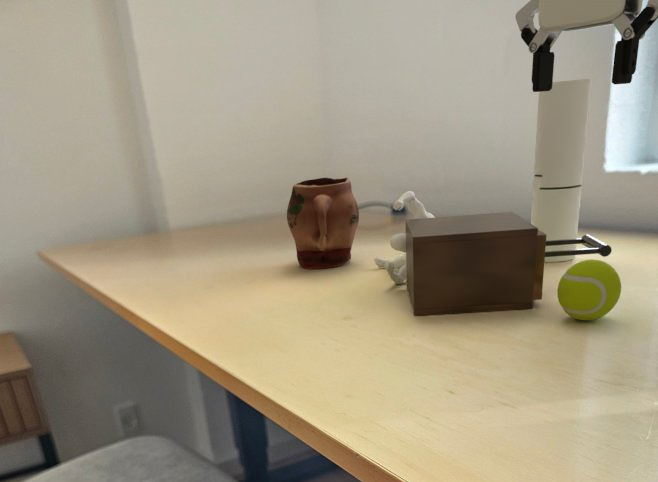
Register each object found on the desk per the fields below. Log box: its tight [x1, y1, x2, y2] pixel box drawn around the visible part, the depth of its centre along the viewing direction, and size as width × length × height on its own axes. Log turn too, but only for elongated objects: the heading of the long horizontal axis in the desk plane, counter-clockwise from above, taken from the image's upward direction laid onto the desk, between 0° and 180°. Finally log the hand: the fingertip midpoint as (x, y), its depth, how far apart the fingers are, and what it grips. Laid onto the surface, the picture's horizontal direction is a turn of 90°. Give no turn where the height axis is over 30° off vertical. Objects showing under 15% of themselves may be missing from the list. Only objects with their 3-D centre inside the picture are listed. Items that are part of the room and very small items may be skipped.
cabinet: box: [405, 211, 538, 317], centre depth 86 cm, size 15×15×10 cm
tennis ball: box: [557, 259, 622, 321], centre depth 74 cm, size 7×7×7 cm
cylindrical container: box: [530, 78, 593, 263], centre depth 101 cm, size 7×7×25 cm
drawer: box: [533, 230, 612, 301], centre depth 86 cm, size 22×13×8 cm, turn 87°
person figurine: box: [373, 190, 435, 285], centre depth 101 cm, size 13×13×18 cm
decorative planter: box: [286, 177, 360, 270], centre depth 112 cm, size 20×12×14 cm, turn 5°
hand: (580, 87), depth 75 cm, fingers open, 9 cm apart
